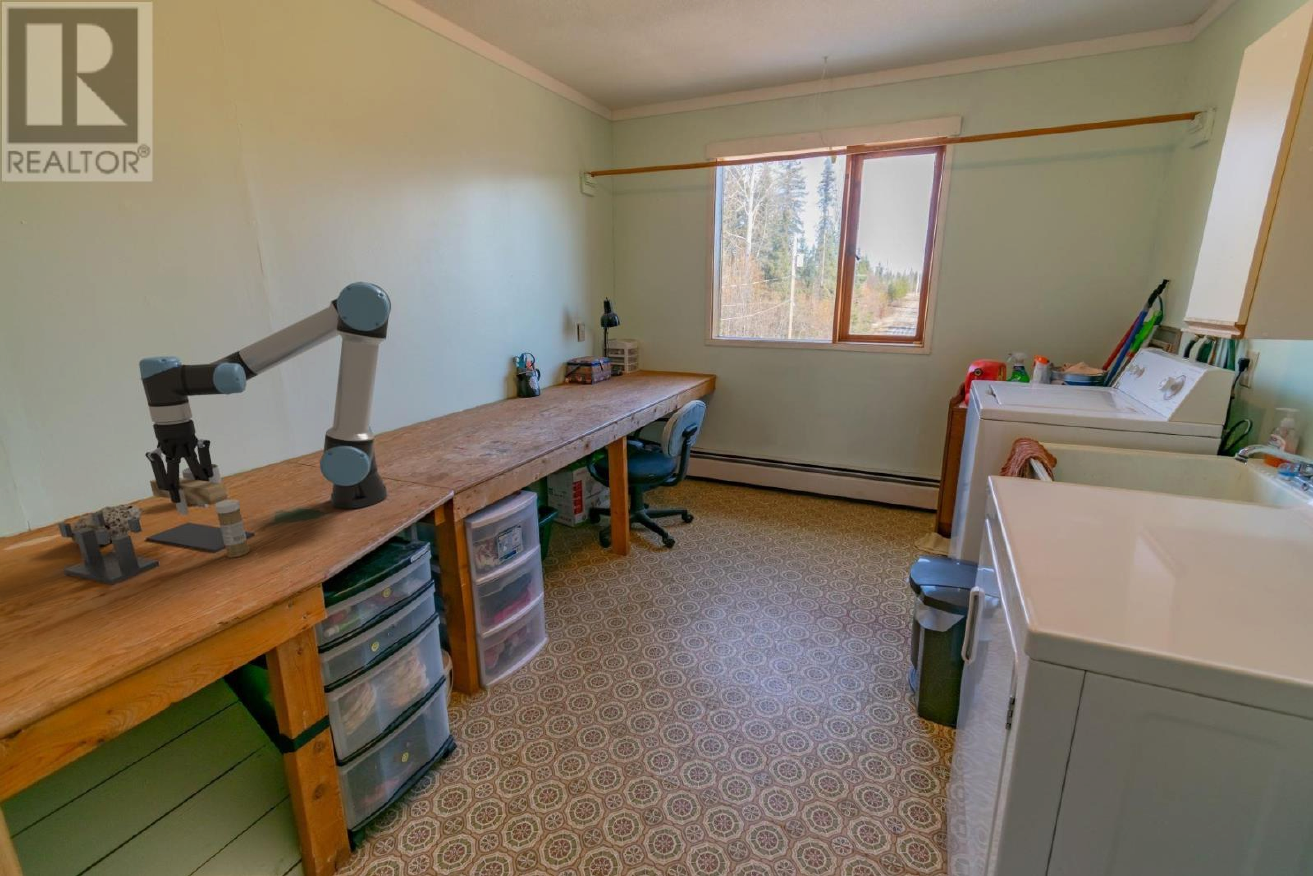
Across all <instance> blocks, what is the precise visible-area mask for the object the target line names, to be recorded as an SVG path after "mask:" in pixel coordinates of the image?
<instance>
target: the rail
mask: <svg viewBox="0 0 1313 876" xmlns="http://www.w3.org/2000/svg"><path fill="white" fill-rule="evenodd" d="M149 483H150V488H151V491H152V496H153V497H159V498H164V499H165V498H166V499H171V497H170V493H169V491H165V490H159V489H158V486H157V483H156V479H152V480H150V481H149ZM179 489H183V490H184V494H185V499H186V502H189V501H190V502H197V503H203V504H208V505H216V504H217V503H219V502H222V501H225V500H229V498H228V494H227V489H226V485H225V483H222V484H221V483H214V482H206V481H199V480H192V479H185V478H183V477H179ZM190 502H189V503H190Z"/></svg>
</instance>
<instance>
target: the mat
mask: <svg viewBox="0 0 1313 876" xmlns="http://www.w3.org/2000/svg"><path fill="white" fill-rule="evenodd" d="M245 534H246V540H247V539H249V538H252V537H254V536H255V535H256V533H255V532H249V531H245ZM145 539H146V541H149V542H150V541H151V542H155V543H159V544H160V543H161V544H167V545H171V546H178V547H184V548H190V549H194V550H201V551H207V552H211V553H218V552H220V551H222V550H224V549H225V550H226V547H225V544H224V540H223V536H222V532H221V528H220V527H218V526H213V525H205V524H201V523H199V524H198V523H193V522H185V523H182V524H180V525H176V526H174V527H172V528H169V529H166V530H164V531H162V532H158V533H156V534H153V535H150V536H148V537H146V538H145Z"/></svg>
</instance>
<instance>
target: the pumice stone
mask: <svg viewBox="0 0 1313 876" xmlns="http://www.w3.org/2000/svg"><path fill="white" fill-rule="evenodd" d="M96 512H98V513H103V517H104V520H105V524H106V525H105V526H102V527H99V526H95V525H94V521H93V518H92V515H91V514H92V513H90V514H87V515H85V516H82V517H80V518H79V519H78V520H77V521H75V522H74V523H73V524H72V525H70V526H71V529H72V532H73V536H72V537H69V538H70V539H71V541H72V542H75V543H77V544H78V541H77V538H76V534H75V532H78V531H81V530H84V529H87V528H90V529H94V531H96V530H99V529H104V530H107V533H108V536H109V539H110V541H112V540H111V539H113V538H115V537H118V536H121V535H126V534H127V532H129V531H130V528H129V524H128V519H131V518H135V519H139V521H141V519H142V517H143V515H142V512H143V508H142V507H138V506H136V505H133V504H132V505H131V504H119V505H116V506H105V507H103V508H101V509H100V510H97V511H96ZM95 535H96V533H95ZM96 538H97V537H96ZM97 541H98V540H97ZM98 545H100V544H99V543H98Z"/></svg>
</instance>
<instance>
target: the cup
mask: <svg viewBox="0 0 1313 876" xmlns="http://www.w3.org/2000/svg"><path fill="white" fill-rule="evenodd" d="M212 469H213V474H214V475H213V477H211V478H209V481H208V482H214V483H221V484H223V483H222V477H221V473H220V470H219V469H220V468H219V465H217V464H216V463H212ZM181 474H182V476H183V477H182V478H185V479H192V480H195V478H194V476H193V474H192V472H191V470H190V468H189V467H186V468H185V469H183V470H181ZM188 502H189V504H190V505H193V506H194V505H197V502H190V501H188ZM197 506H198V505H197Z"/></svg>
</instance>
